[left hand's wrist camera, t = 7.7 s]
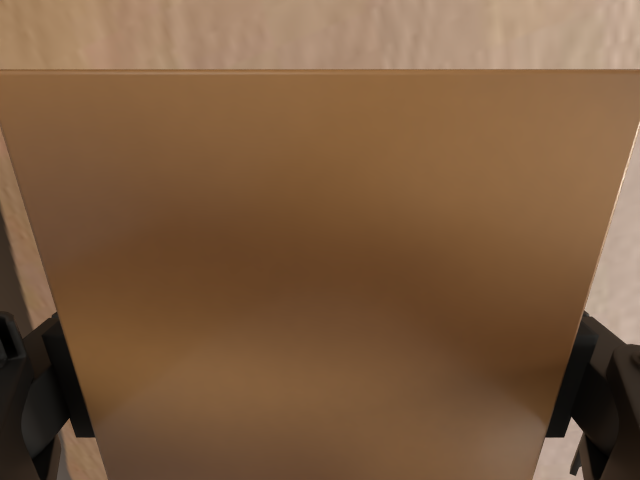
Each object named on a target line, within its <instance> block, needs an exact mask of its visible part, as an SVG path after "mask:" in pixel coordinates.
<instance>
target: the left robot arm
mask: <svg viewBox="0 0 640 480" xmlns="http://www.w3.org/2000/svg"><path fill="white" fill-rule="evenodd" d="M571 417H572V418H573V419H574V420H575V422H576V423H577V424H578V425H579V427H580V428H581V429H582V431H583V434H582V437H581V440H580V442H579V445H578V448H577V451H576V453H575V456H574V459H573V461H572V464H571V468H570V474H572V475H575V476H576V474H577V471H578V469H579V467H581V466H582V471H583V477H584V480H640V345H634V344H625V343H624V342H623V341H622V340H621V339H619V338H618V337H617V336H616V335H614V334H613V333H612V332H611V331H609V330H608V329H607V328H606V327H604V326H603V325H602V324H601V323H599V322H598V321H597V320H596V319H594V318H593V317H589V314H588V313H587V312H586V311H584V312H583V315H582V319H581V322H580V325H579V328H578V332H577V335H576V338H575V341H574V345H573V348H572V351H571V354H570V358H569V361H568V364H567V368H566V371H565V374H564V377H563V381H562V384H561V387H560V390H559V394H558V397H557V400H556V403H555V407H554V410H553V413H552V416H551V420H550V423H549V426H548V430H547V433H546V436H545V437H564V436H565V433H566V431H567V428H568V425H569V422H570V419H571ZM69 418H70V421H71V424H72V427H73V430H74V432H75V435H76V437H95V434H94V431H93V428H92V424H91V421H90V418H89V415H88V411H87V408H86V405H85V402H84V398H83V395H82V392H81V388H80V385H79V382H78V379H77V375H76V372H75V369H74V366H73V362H72V359H71V356H70V352H69V349H68V346H67V343H66V339H65V336H64V333H63V330H62V326H61V323H60V320H59V317H58V313H57V312H56V313H54V314H53V315H52V318H48V319H47V320H46V321H45V322H43V323H42V324H41V325H40V326H38V327H37V328H36V329H35V330H33V331H32V332H31V333H30V334H28V335H27V336H26V337H25V338H24V339H22V337H21V334H20V331H19V328H18V326H17V323H16V320H15V318H14V315H12V314H10V313H8V312H1V311H0V480H56V479H57V472H58V466H59V460H60V454H61V444H60V440H59V437H58V434H57V433H58V432H59V431H60V429H61V428H62V427H63V425H64V424H65V423H66V422H67V420H68V419H69Z"/></svg>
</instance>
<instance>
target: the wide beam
mask: <svg viewBox="0 0 640 480" xmlns="http://www.w3.org/2000/svg"><path fill="white" fill-rule="evenodd" d="M0 127H1V130H2V133H3V137H4V140H5V143H6V146H7V150H8V153H9V156H10V160H11V163H12V166H13V169H14V173H15V176H16V179H17V182H18V186H19V189H20V192H21V195H22V199H23V202H24V205H25V209H26V212H27V215H28V218H29V222H30V225H31V228H32V231H33V235H34V238H35V241H36V245H37V248H38V251H39V254H40V258H41V261H42V264H43V267H44V271H45V274H46V277H47V281H48V284H49V287H50V290H51V294H52V297H53V300H54V303H55V307H56V310H57V313H58V317H59V320H60V323H61V326H62V330H63V333H64V336H65V339H66V343H67V346H68V349H69V352H70V356H71V359H72V362H73V366H74V369H75V372H76V375H77V379H78V382H79V385H80V388H81V392H82V395H83V398H84V402H85V405H86V408H87V411H88V415H89V418H90V421H91V424H92V428H93V431H94V434H95V438H96V441H97V444H98V447H99V451H100V454H101V457H102V460H103V464H104V467H105V470H106V474H107V477H108V480H532V478H533V475H534V472H535V469H536V465H537V462H538V459H539V456H540V452H541V449H542V446H543V443H544V439H545V436H546V433H547V430H548V426H549V423H550V420H551V416H552V413H553V410H554V407H555V403H556V400H557V397H558V394H559V390H560V387H561V384H562V381H563V377H564V374H565V371H566V368H567V364H568V361H569V358H570V354H571V351H572V348H573V345H574V341H575V338H576V335H577V332H578V328H579V325H580V322H581V319H582V315H583V312H584V309H585V305H586V302H587V299H588V296H589V292H590V289H591V286H592V283H593V279H594V276H595V273H596V270H597V266H598V263H599V260H600V257H601V253H602V250H603V247H604V243H605V240H606V237H607V234H608V230H609V227H610V224H611V221H612V217H613V214H614V211H615V208H616V204H617V201H618V198H619V195H620V191H621V188H622V185H623V181H624V178H625V175H626V172H627V168H628V165H629V162H630V159H631V155H632V152H633V149H634V146H635V142H636V139H637V136H638V133H639V129H640V69H307V70H0Z"/></svg>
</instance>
